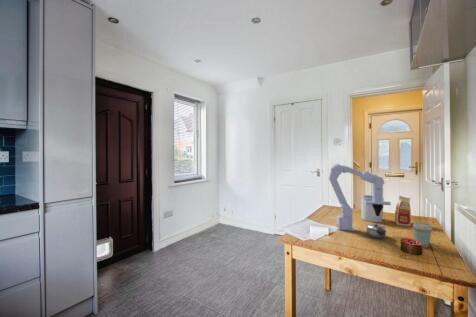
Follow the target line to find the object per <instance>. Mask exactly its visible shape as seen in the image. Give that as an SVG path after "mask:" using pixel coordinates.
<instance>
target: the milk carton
mask: <svg viewBox="0 0 476 317" xmlns="http://www.w3.org/2000/svg"><path fill="white" fill-rule="evenodd" d="M411 198H412V197H406V196H402V195H399V196H398V201H397V203H396V205H395V206H396V207H395V211H394V221H395V224H396V225H397V226H408V227H409V226H412V212H411V211H412V209H411V204H410V201H411Z"/></svg>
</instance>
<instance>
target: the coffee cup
mask: <svg viewBox="0 0 476 317" xmlns="http://www.w3.org/2000/svg"><path fill="white" fill-rule="evenodd" d="M412 227H413V235H414V241H415V240H416V241H419V242H420V243H421V245H422V247H421V248H425V249H427V248H429V247H430V241H431V235H432V230H433V227H432V225H431V224H429V223H427V222H421V221H419V222H418V221H417V222H416V221H415V222H413V224H412Z"/></svg>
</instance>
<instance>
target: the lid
mask: <svg viewBox="0 0 476 317" xmlns="http://www.w3.org/2000/svg"><path fill="white" fill-rule="evenodd" d="M365 228H366V229H367V228H369V229H372V230H378V231H379V232H380V233H381V234H387V233H386V232H387V227H386V226H385V225H382V224H378V223H366V224H365Z"/></svg>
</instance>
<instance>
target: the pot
mask: <svg viewBox="0 0 476 317" xmlns="http://www.w3.org/2000/svg"><path fill="white" fill-rule="evenodd" d="M386 234H387V233H386ZM386 234H381V233H380V232H379V231H378V230H372V229H369V228H367V227H366V236H367V237H369V238H372V239H378V240H382V239H386Z"/></svg>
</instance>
